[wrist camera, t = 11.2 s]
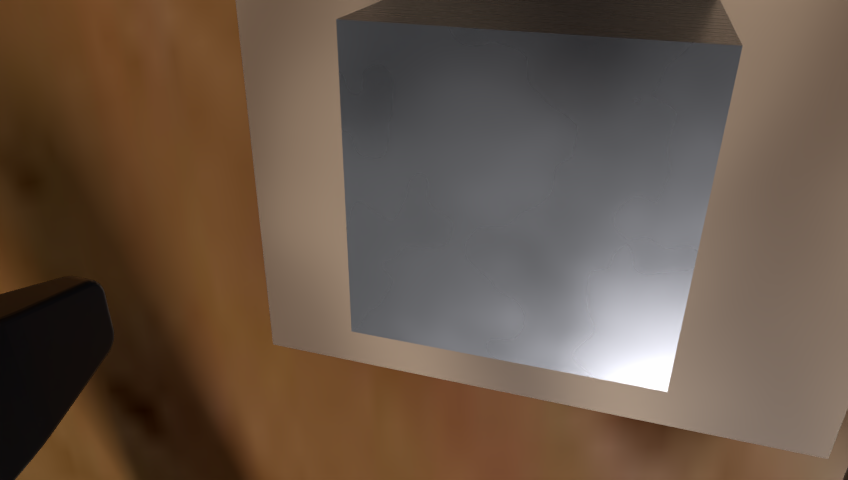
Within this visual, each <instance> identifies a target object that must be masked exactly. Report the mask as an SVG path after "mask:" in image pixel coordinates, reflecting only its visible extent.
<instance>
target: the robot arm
mask: <svg viewBox="0 0 848 480" xmlns="http://www.w3.org/2000/svg"><path fill="white" fill-rule="evenodd" d="M113 341H114V329H113V325H112V321H111V317H110V312H109V308H108V304H107V300H106V296H105V292H104V289H103V287H102V286H101V285H100V283H98V282H96V281H94V280H90V279H85V278H80V277H75V276H66V277H62V278H58V279H55V280H51V281H47V282H44V283H40V284H36V285H32V286H29V287H25V288H21V289H18V290H14V291H10V292H7V293H3V294H0V480H15V479H16V478H17V477H18V475H19V474H20V473H21V472H22V471H23V469H24V468H25V467H26V466H27V465H28V463H29V462H30V461H31V460H32V459H33V457H34V456H35V455H36V454H37V452H38V451H39V450H40V449H41V447H42V446H43V445H44V444H45V442H46V441H47V440H48V438H49V437H50V436H51V434H52V433H53V431H54V430H55V429H56V427H57V426H58V424H59V423H60V422H61V420H62V419H63V417H64V416H65V414H66V413H67V412H68V410H69V409H70V407H71V406H72V404H73V403H74V402H75V400H76V399H77V397H78V396H79V394H80V393H81V391H82V390H83V389H84V387H85V386H86V384H87V383H88V381H89V380H90V379H91V377H92V376H93V374H94V373H95V371H96V370H97V369H98V367H99V366H100V364H101V363H102V361H103V360H104V359H105V357H106V356H107V354H108V353H109V351H110V349H111V347H112V345H113ZM843 480H848V468H847V471H846V473H845V475H844V478H843Z"/></svg>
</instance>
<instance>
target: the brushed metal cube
mask: <svg viewBox="0 0 848 480" xmlns="http://www.w3.org/2000/svg"><path fill="white" fill-rule="evenodd" d="M336 27H337V47H338V67H339V87H340V108H341V128H342V148H343V169H344V189H345V209H346V230H347V250H348V270H349V291H350V311H351V331H352V332H357V333H362V334H367V335H372V336H377V337H383V338H388V339H393V340H398V341H404V342H409V343H414V344H419V345H424V346H430V347H435V348H440V349H445V350H451V351H456V352H461V353H466V354H472V355H477V356H482V357H487V358H492V359H498V360H503V361H508V362H513V363H519V364H524V365H529V366H534V367H539V368H545V369H550V370H555V371H560V372H566V373H571V374H576V375H581V376H586V377H592V378H597V379H602V380H607V381H613V382H618V383H623V384H628V385H633V386H639V387H644V388H649V389H654V390H660V391H665V392H667V391H668V386H669V382H670V377H671V372H672V368H673V363H674V359H675V354H676V349H677V345H678V340H679V336H680V331H681V327H682V322H683V317H684V313H685V308H686V304H687V299H688V294H689V290H690V285H691V281H692V276H693V272H694V267H695V262H696V258H697V253H698V249H699V244H700V239H701V235H702V230H703V226H704V221H705V216H706V212H707V207H708V203H709V198H710V194H711V189H712V184H713V180H714V175H715V171H716V166H717V161H718V157H719V152H720V148H721V143H722V139H723V134H724V129H725V125H726V120H727V116H728V111H729V106H730V102H731V97H732V93H733V88H734V84H735V79H736V74H737V70H738V65H739V61H740V56H741V51H742V47H743V45H742V43H741V41H740V39H739V37H738V35H737V33H736V31H735V29H734V27H733V25H732V23H731V21H730V19H729V17H728V15H727V13H726V11H725V9H724V7H723V5H722V3H721V1H720V0H382V1H379V2H377V3H375V4H372V5H370V6H367V7H365V8H362V9H360V10H357V11H355V12H353V13H350V14H348V15H345V16H343V17H340V18H338V19H336Z"/></svg>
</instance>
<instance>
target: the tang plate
mask: <svg viewBox="0 0 848 480" xmlns="http://www.w3.org/2000/svg"><path fill="white" fill-rule="evenodd" d="M379 1H382V0H236V9H237V18H238V27H239V36H240V45H241V54H242V63H243V73H244V82H245V91H246V100H247V109H248V118H249V127H250V136H251V146H252V155H253V164H254V173H255V182H256V191H257V200H258V210H259V219H260V228H261V237H262V246H263V255H264V264H265V274H266V283H267V292H268V301H269V310H270V319H271V328H272V337H273V344H275V345H279V346H284V347H289V348H294V349H299V350H304V351H308V352H313V353H318V354H323V355H328V356H333V357H337V358H342V359H347V360H352V361H357V362H362V363H366V364H371V365H376V366H381V367H386V368H391V369H395V370H400V371H405V372H410V373H415V374H420V375H424V376H429V377H434V378H439V379H444V380H449V381H453V382H458V383H463V384H468V385H473V386H478V387H482V388H487V389H492V390H497V391H502V392H507V393H512V394H516V395H521V396H526V397H531V398H536V399H541V400H545V401H550V402H555V403H560V404H565V405H570V406H574V407H579V408H584V409H589V410H594V411H599V412H603V413H608V414H613V415H618V416H623V417H628V418H632V419H637V420H642V421H647V422H652V423H657V424H661V425H666V426H671V427H676V428H681V429H686V430H690V431H695V432H700V433H705V434H710V435H715V436H719V437H724V438H729V439H734V440H739V441H744V442H748V443H753V444H758V445H763V446H768V447H773V448H777V449H782V450H787V451H792V452H797V453H802V454H807V455H811V456H816V457H821V458H826V459H828V458H829V456H830V453H831V450H832V448H833V445H834V443H835V440H836V437H837V435H838V432H839V430H840V427H841V424H842V422H843V419H844V417H845V414H846V411H847V409H848V0H720V1H721V3H722V5H723V7H724V9H725V11H726V13H727V15H728V17H729V19H730V21H731V23H732V25H733V27H734V29H735V31H736V33H737V35H738V37H739V39H740V41H741V43H742V45H743V47H742V51H741V56H740V61H739V65H738V70H737V74H736V79H735V84H734V88H733V93H732V97H731V102H730V106H729V111H728V116H727V120H726V125H725V129H724V134H723V139H722V143H721V148H720V152H719V157H718V161H717V166H716V171H715V175H714V180H713V184H712V189H711V194H710V198H709V203H708V207H707V212H706V216H705V221H704V226H703V230H702V235H701V239H700V244H699V249H698V253H697V258H696V262H695V267H694V272H693V276H692V281H691V285H690V290H689V294H688V299H687V304H686V308H685V313H684V317H683V322H682V327H681V331H680V336H679V340H678V345H677V349H676V354H675V359H674V363H673V368H672V372H671V377H670V382H669V386H668V391H667V392H665V391H660V390H654V389H649V388H644V387H639V386H633V385H628V384H623V383H618V382H613V381H607V380H602V379H597V378H592V377H586V376H581V375H576V374H571V373H566V372H560V371H555V370H550V369H545V368H539V367H534V366H529V365H524V364H519V363H513V362H508V361H503V360H498V359H492V358H487V357H482V356H477V355H472V354H466V353H461V352H456V351H451V350H445V349H440V348H435V347H430V346H424V345H419V344H414V343H409V342H404V341H398V340H393V339H388V338H383V337H377V336H372V335H367V334H362V333H357V332H352V331H351V311H350V291H349V270H348V250H347V230H346V209H345V189H344V169H343V148H342V128H341V108H340V87H339V67H338V47H337V27H336V19H338V18H340V17H343V16H345V15H348V14H350V13H353V12H355V11H357V10H360V9H362V8H365V7H367V6H370V5H372V4H375V3H377V2H379Z"/></svg>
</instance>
